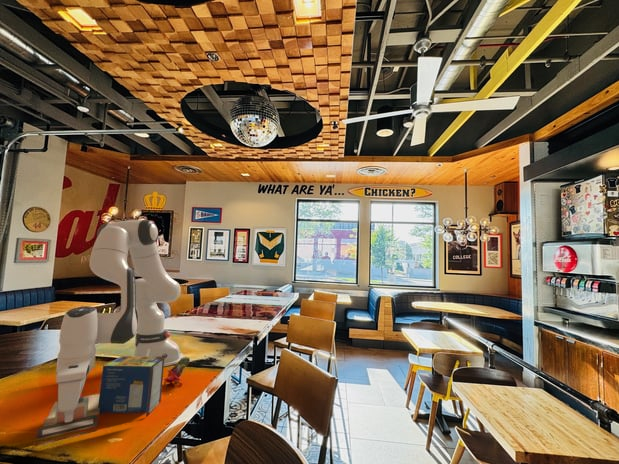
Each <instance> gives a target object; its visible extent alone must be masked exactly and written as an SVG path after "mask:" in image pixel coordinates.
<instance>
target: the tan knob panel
mask: <svg viewBox="0 0 619 464" xmlns="http://www.w3.org/2000/svg"><path fill="white" fill-rule="evenodd" d="M99 395H100V393H96V394H90V395H87V396H82V397H83V398H85V397H89V401H88V412H87V417H84V418H80V419H75V420H72V421H71V422H61V423H57V424H55V413H56V408H57V406H58V401H55V402H54V404H53V406H52V407H51V409H50V412H49V414H48V416H47V417H46V418H44V419H43V424H42V425H43V426H40V427H38V429H37V433H36V435H37V436H36V441H38V440H43V439H47V438H50V437H51V438H52V437H56V436H60V435H64V434H68V433H72V432H78V431H81V430H85V429H90V428H95V427H97V426H98V421H99V417H100V413H99V411H100V408H98V403H99ZM94 432H97V429H94V430H89V431H85V432H81V433H77V434H73V435H68V436H64V437H60V438H57V439H52V440H51V439H50V440H47V441H43V442H39V443H36V444H35V446H36V445H37V444H42V445H45V443H46V444H49V442H50V443H53V442H57V441H62V440H66V439H71V438H75V437H78V436H82V435H87V434H91V433H94ZM37 446H38V445H37Z"/></svg>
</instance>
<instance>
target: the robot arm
mask: <svg viewBox="0 0 619 464" xmlns="http://www.w3.org/2000/svg"><path fill="white" fill-rule="evenodd" d="M96 233H97V234H96V239H95V242H94V243H93V246H92V250H91V253H90V255H89V256H90V257H89V262H88V263H89V268H90V270H91V272H92V273H93V274H94V275H96V276H97V277H99V278H101V279H103V280H105V281H108V282H111V283H114V284H116V285H118V286H119V287H120V297H121V298H120V309H119V310H120V311H118V312H104V313H103V312H98V311H97V310H98V309H97V308H95V307H94V306H89V305H88V306H85V305H84V306H77V307H73V308H71V309H69V310H67V311H66V312H65V313H64V316H63V319H62V323H61V326H60V331H59V337H58V338H59V339H58V340H59V341H58V343H59V347H60V348H59V352H58V354H57V358H56V359H57V361H56V371H55V374H56V377H55V383H56V384H57V383H58V387H57V388H58V389H57V402H58V409H59V412H64V414H65V422H71V421H72V420H73V417H74V410H75V409H76V407H77V404H78V401H79V398H80V397H81V396H82V392H83V390H84V386H85V384H86V383H85V382H86V380H87V376H88V375H89V373H90V371H92V370H93V369H94V368H95V367H96V366H95V363H96V351H97V348H96V345H99V344H100V345H101V344H113V345H114V344H117V345H118V344H121V345H123V344H126V343H127V342H129V341H130V340H132V339H133V338H134V337H135V340H134V346H135V348H134V353H133V356H141V357H164V367H167V366H173V365H176V364H177V363H178V362H179V361H180V359H182V358H184V357H185V354H183V353H182V352H181V351H180V347H179V345H178V343H176V342H175V341H173V340H172V339H170V337H171V333H170V332H169V331H167V330H165V319H166V318H165V317H166V315H165V313H164V312H163V311H162V310H161V309H160V308H159V307H158V304H166V303H167V304H169V303H173V302H176V301H177V300H178V299H179V297H180V296H181V293H182V290H181V289H182V287H181V285H180V283H179V282H178V281H176V280H175V279H173V278H172V277H171V276H170V275H169V274H168V272H167V271H166V270H165V268H164V266H163V263H162V261H161V257H160V253H159V248H158V245H157V242H156V241H157V240H158V236H159V230H158V227H157V224H155V222H154V221H152V220H147V219H142V220H141V219H127V220H119V221H115V222H113V221H108V222H106V223H105V222H104V223H103V224H100V227H99V228H98V229H97V232H96ZM129 253H130V254H129ZM129 255H130V258H131V263H132V266H133V268H132V267H129V264H128V257H129ZM135 273H136V275H138V276H139V277H141V278H137V279H136V275H135ZM157 303H158V304H157Z"/></svg>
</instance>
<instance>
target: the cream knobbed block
mask: <svg viewBox="0 0 619 464" xmlns="http://www.w3.org/2000/svg"><path fill="white" fill-rule="evenodd" d="M83 397H85V396H80V398H79V401H78V404H77V407H76V409H75V410H74V417H73V420H75V419H80V418H84V417H87V412H88V401H89V397H85V398H83ZM61 422H65V414H64V412H59V409H58V406H57V408H56V413H55V424H57V423H61Z"/></svg>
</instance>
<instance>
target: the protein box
mask: <svg viewBox="0 0 619 464" xmlns="http://www.w3.org/2000/svg"><path fill="white" fill-rule="evenodd" d="M164 367H165V366H164V357H141V356H134V355H133V356H127V355H125V356H123V355H121V356H119V357H117V358H115V359H114V360H111V361H109V362H107V363H105V364H103V365H102V371H101V381H100V389H99V394H100V395H99V403H98V408H100V411H99V414H142V413H143V414H144V413H145V416H146V417H147V416H148V415H150V413H152V411H154V410H155V408H156V407H157V406H158V405H159V404H160V403H161V402H162V391H163V389H162V388H163V380H164V379H163V377H164V376H163V375H164Z"/></svg>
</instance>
